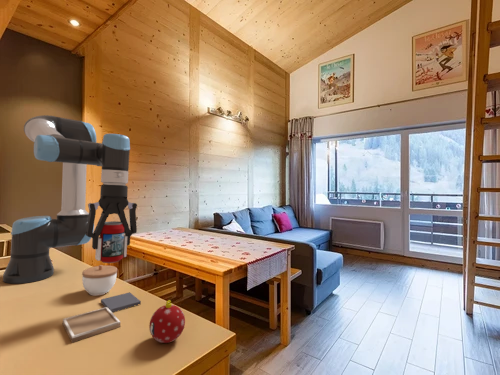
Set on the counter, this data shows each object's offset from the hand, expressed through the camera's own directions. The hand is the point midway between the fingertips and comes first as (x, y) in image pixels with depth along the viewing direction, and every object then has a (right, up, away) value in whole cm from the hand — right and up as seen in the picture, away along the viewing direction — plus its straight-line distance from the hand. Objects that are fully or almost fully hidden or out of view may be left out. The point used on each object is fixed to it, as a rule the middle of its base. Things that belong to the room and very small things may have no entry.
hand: (111, 257), depth 82 cm
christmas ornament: (+22, -17, -16) cm, 32 cm away
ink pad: (+2, -16, +3) cm, 16 cm away
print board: (0, -16, -11) cm, 19 cm away
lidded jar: (-10, -15, +10) cm, 21 cm away
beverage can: (0, -1, 0) cm, 1 cm away
